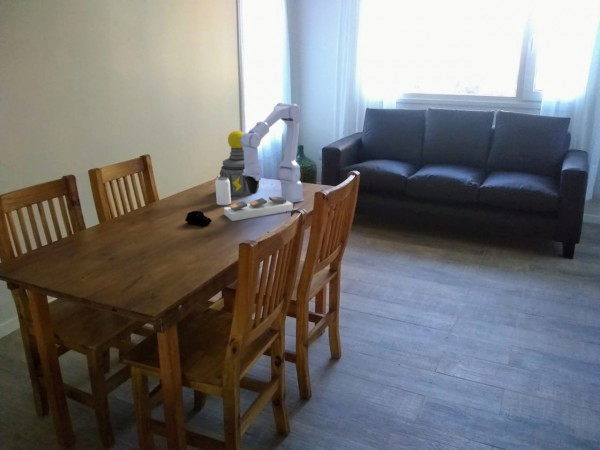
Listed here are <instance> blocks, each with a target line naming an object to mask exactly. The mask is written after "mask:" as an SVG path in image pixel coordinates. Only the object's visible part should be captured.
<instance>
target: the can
mask: <svg viewBox="0 0 600 450" xmlns="http://www.w3.org/2000/svg"><path fill="white" fill-rule="evenodd" d="M214 183H215V196H216V204H217V205H218V206H221V207H222V206H223V207H225V206H230V205H231V204H232V198H231V194H230V181H229V179H228V177H220V176H218V177H216V178H215V181H214Z"/></svg>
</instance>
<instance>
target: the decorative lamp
mask: <svg viewBox="0 0 600 450" xmlns="http://www.w3.org/2000/svg"><path fill="white" fill-rule="evenodd" d="M244 133H245V132H243V131H241V130H233V131H231V132H230V133H229V134H228V137H227V143H228V146H229V147H230V151H229V154H230V155H229V157H228V158H226V159H224V160H222V166H220V172H219V177H228V179H229V181H230V194H231V196H233V197H243V196H250V195H252V194H250V191H249V188H248V185H247V182H246V180H245V179H244V177H247V176H246V175H242V173H244V169H245V163H244V151H243V147H242V145H241V143H240V140H241V136H242V135H243V134H244ZM259 188H260V181H259V182H258V185H257V190H256V193H257V192H258V191H259Z"/></svg>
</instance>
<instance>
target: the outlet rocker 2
mask: <svg viewBox="0 0 600 450" xmlns="http://www.w3.org/2000/svg"><path fill="white" fill-rule="evenodd" d="M267 201H268V200H266V199H265V198H264V197H261V198H259V199H255V200H253V201H251V202H249V204H250V205H251V206H253V207H254V208H255V207H258V206H260V205H263V204H265V203H267Z"/></svg>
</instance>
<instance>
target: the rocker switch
mask: <svg viewBox="0 0 600 450" xmlns="http://www.w3.org/2000/svg"><path fill="white" fill-rule="evenodd" d="M269 200H271V201H273V202H286V200H285V199H284V198H282V196H269V197H268V201H269Z"/></svg>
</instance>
